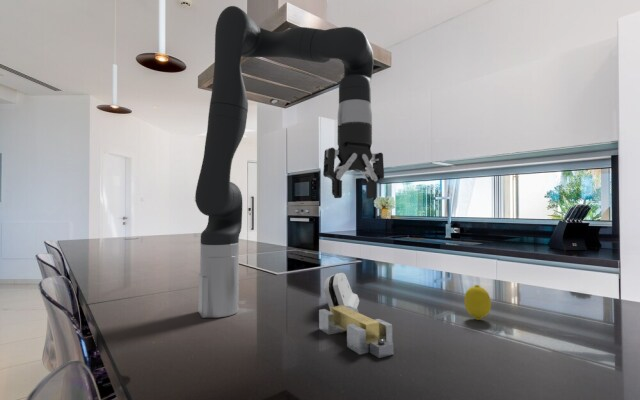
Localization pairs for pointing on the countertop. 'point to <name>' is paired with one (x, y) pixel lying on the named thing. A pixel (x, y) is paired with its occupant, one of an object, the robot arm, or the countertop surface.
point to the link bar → (355, 321)
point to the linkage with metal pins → (360, 335)
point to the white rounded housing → (340, 291)
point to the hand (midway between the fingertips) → (354, 198)
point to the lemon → (477, 302)
